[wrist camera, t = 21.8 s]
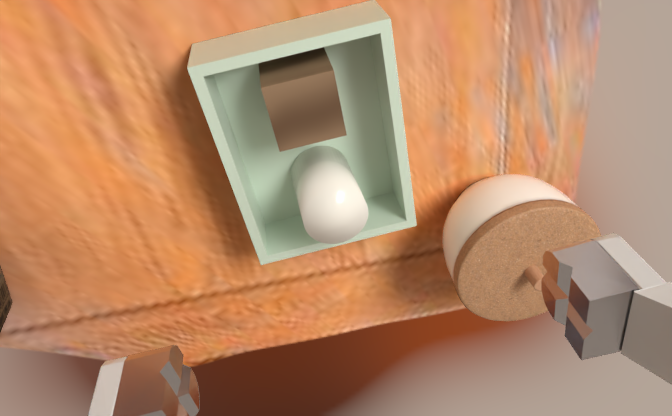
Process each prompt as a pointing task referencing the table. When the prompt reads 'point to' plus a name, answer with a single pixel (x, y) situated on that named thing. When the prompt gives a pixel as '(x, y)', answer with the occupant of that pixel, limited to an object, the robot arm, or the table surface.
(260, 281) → the table surface
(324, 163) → the white rounded cylinder
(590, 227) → the lidded bowl
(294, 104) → the walnut block
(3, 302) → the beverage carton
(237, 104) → the tote
